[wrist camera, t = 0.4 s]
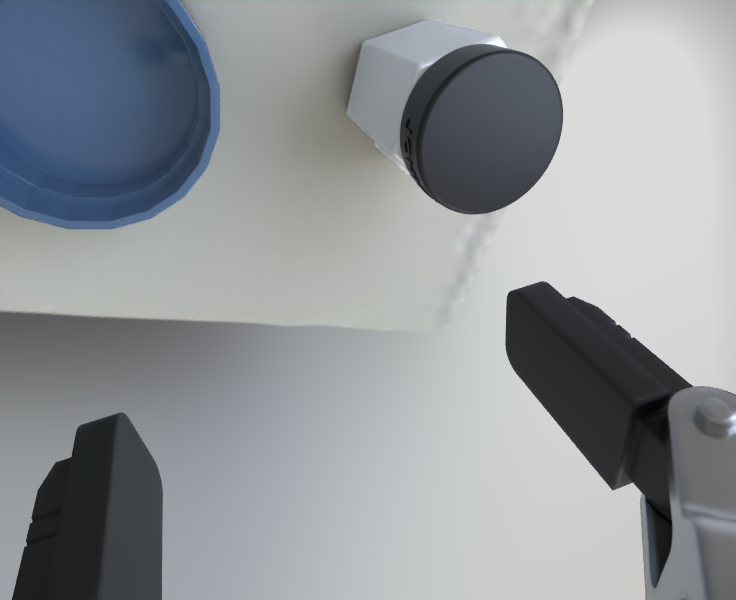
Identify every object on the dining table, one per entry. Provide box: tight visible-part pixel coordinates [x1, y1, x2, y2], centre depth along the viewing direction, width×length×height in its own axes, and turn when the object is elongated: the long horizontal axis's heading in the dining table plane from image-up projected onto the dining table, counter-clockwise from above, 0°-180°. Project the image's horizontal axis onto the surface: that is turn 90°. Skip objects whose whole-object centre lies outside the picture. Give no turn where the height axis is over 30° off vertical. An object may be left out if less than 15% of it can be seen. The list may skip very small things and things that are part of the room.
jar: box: [346, 19, 563, 214], centre depth 31 cm, size 9×8×12 cm
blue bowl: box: [0, 0, 220, 229], centre depth 28 cm, size 14×14×5 cm
